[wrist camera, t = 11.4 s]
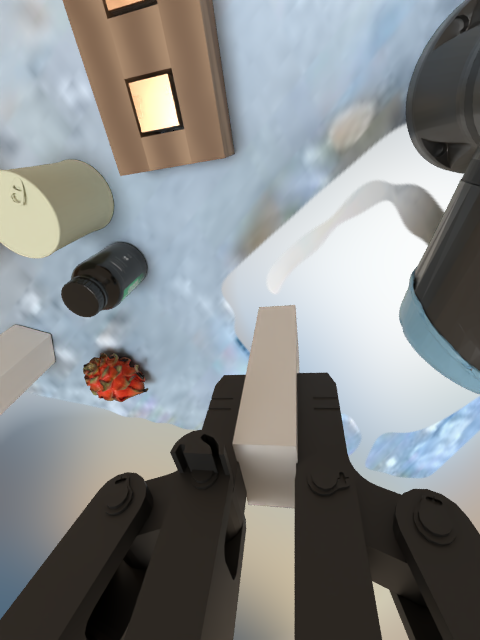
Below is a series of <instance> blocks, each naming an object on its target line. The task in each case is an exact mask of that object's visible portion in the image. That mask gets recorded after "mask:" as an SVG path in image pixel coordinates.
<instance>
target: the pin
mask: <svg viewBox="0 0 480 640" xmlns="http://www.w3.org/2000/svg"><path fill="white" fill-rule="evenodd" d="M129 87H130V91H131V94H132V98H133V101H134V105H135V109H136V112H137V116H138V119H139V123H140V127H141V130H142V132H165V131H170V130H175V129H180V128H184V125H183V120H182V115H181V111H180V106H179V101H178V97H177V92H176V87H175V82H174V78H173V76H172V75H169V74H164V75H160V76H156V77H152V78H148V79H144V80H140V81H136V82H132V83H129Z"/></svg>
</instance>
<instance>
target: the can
mask: <svg viewBox="0 0 480 640" xmlns="http://www.w3.org/2000/svg"><path fill="white" fill-rule="evenodd" d="M113 210H114V202H113V197H112V193H111V191H110V188H109V186H108V184H107V183H106V181H105V180H104V178H103V177H102V176H101V175H100V174H99V173H98V172H97V171H96V170H95V169H94V168H93V167H91V166H90V165H88V164H86V163H84V162H82V161H78V160H72V159H71V160H64V161H61V162H59V163H53V164H46V165H39V166H33V167H25V168H17V169H10V170H0V242H1V243H2V244H3V245H4V246H6V247H7V248H9V249H10V250H12V251H13V252H15V253H17V254H19V255H22V256H25V257H29V258H44V257H47V256H49V255H51V254H52V253H53V252H55V251H57V250H59V249H60V248H62V247H64V246H66V245H68V244H70V243H72V242H74V241H75V240H77V239H79V238H81V237H83V236H85V235H87V234H89V233H91V232H93V231H97V230H100V229H102V228H104V227H105V226H106V225H107V224H108V223H109V222H110V220H111V218H112V215H113Z"/></svg>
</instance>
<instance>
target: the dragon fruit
mask: <svg viewBox="0 0 480 640" xmlns="http://www.w3.org/2000/svg"><path fill="white" fill-rule="evenodd" d="M100 354H101V356H100V358H96V357H94V358H92V359H91V360H90V362H89V363H88V364H86V365H84V368H83V372H84V374H85V377H84V378H85V381H86V384H87V386H91V387H90V390H91V392H92V393H93V394H94V395H98V396H99V398H104V399H105V400H107V401H113V400H116V401H119V402H123V401H125V400H126V399H128V398H130V397H133V396H135V395H138V394H141V393H143V392H147V390H148V388H147V389H146V390H145V389H144V388H145V387H144V383H143V382H145V377H144V375H143V373H142V372H141V371H138V370H139V365H134V367H130V366H129V363H130V361H131V359H129V358H125V357H122V358H118V356H117V355H116V354H114V353H113V354H112V355H111V356H115V357H112V358H111V359H110V358H109V357H108V356H107V355H106V354H104V353H100ZM111 356H110V357H111ZM124 359H127V361H120V360H124ZM137 372H138V373H139V372H140V373H139V374H140V375H141V376H142V377H143V379H141V378H140V376H138V374H137ZM97 393H98V394H97Z"/></svg>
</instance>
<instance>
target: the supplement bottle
mask: <svg viewBox="0 0 480 640" xmlns="http://www.w3.org/2000/svg"><path fill="white" fill-rule="evenodd" d="M146 272H147V265H146V262H145V259H144V257H143V256H142V254H141V253H140V252H139V251H138V250H137V249H136V248H135V247H133V246H131V245H129V244H126V243H114V244H111V245H109V246H108V247H106V248H104V249H103V250H101V251H100V252H98V253H96V254H95V255H93V256H92V257H90V258H88V259H87V260H85V261H84V262H82V263H81V264H79V265H78V266H77V267H76V268H75V269H74V270H73V272H72V276H71V280H70V281H69V282H68V283H67V284H65V285H64V287H63V288H62V290H61V292H62V293H61V295H62V299H63V302H64V304H65V305H66V306H67V308H69V310H71V311H72V312H73V313H75V314H77V315H79V316H83V317H91V316H94V315H96V314H97V313H98V312H99V311H101V310H109V309H112V308H114V307H116V306H117V305H118V304H120V303H121V302H122V301H123V300H124V299H125V298H126V297H127V296H128V295H129V294H130V293H131V292H132V291H133V290H134V289H135V288H136V287H137V286H138V285H139V284H140V283H141V282H142V280H143V279H144V278H145V276H146Z"/></svg>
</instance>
